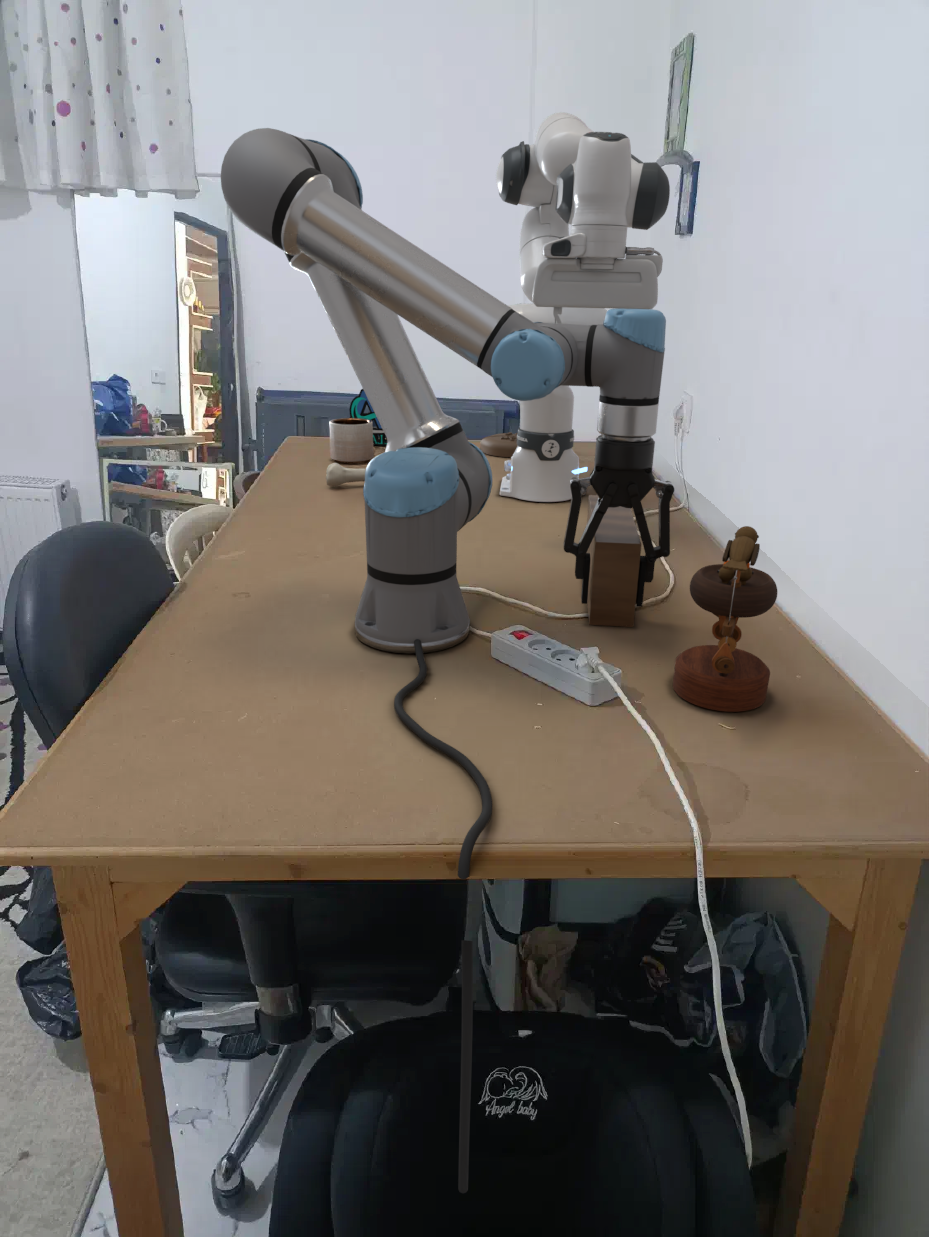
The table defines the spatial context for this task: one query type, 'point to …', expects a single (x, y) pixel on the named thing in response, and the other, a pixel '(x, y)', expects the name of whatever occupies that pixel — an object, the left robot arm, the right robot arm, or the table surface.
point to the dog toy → (343, 475)
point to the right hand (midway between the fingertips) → (591, 337)
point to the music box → (728, 631)
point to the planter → (351, 440)
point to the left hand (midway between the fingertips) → (611, 601)
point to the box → (613, 568)
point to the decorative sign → (367, 417)
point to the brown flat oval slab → (499, 444)
